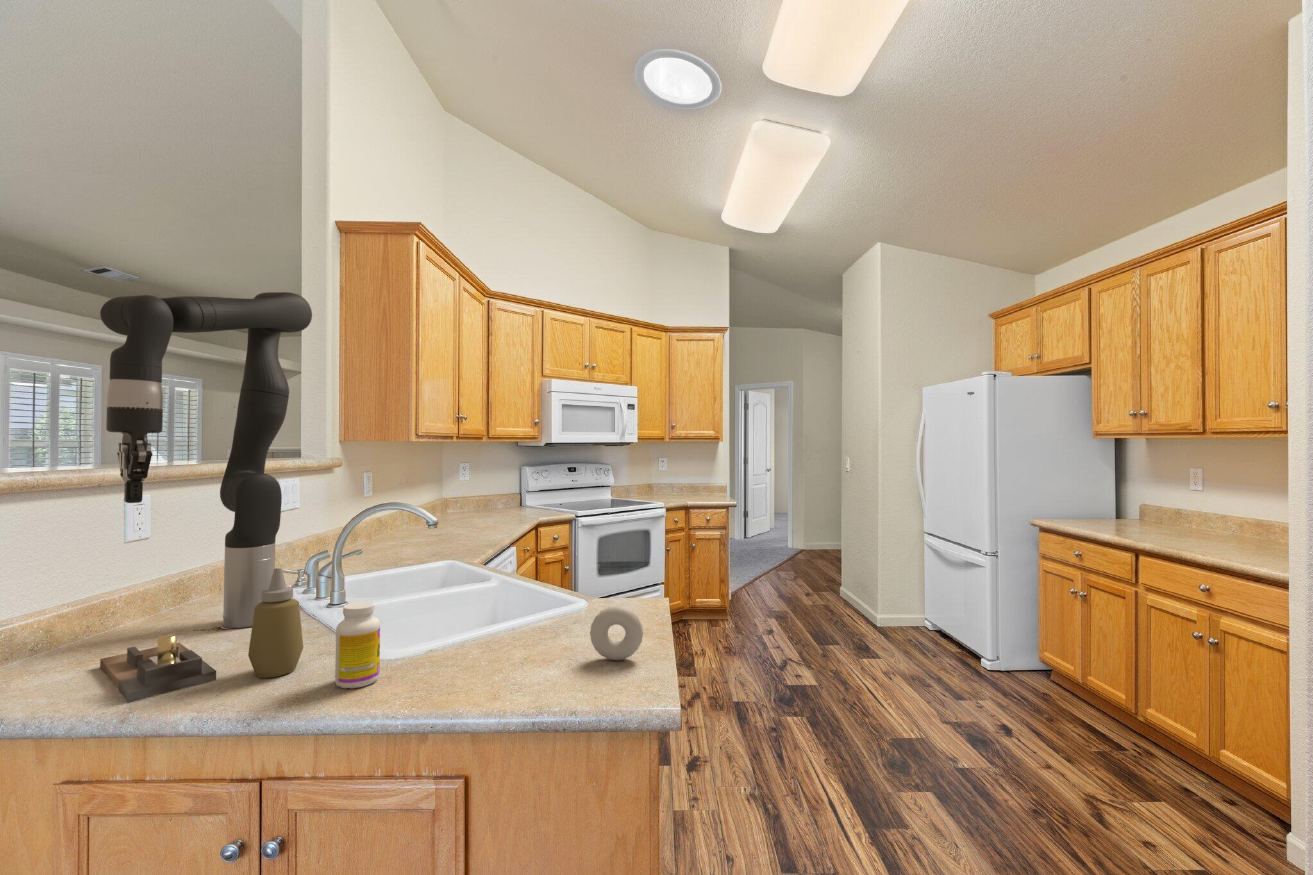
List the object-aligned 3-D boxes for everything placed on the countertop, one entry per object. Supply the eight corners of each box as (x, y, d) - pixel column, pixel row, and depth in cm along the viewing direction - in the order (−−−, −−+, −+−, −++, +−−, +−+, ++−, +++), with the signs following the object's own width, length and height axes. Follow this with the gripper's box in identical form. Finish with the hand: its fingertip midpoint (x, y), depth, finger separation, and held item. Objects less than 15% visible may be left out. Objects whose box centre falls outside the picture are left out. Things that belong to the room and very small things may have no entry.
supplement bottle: (384, 682, 96) (386, 605, 96) (340, 693, 92) (342, 613, 92) (372, 670, 101) (374, 597, 102) (330, 680, 97) (332, 604, 97)
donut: (643, 656, 110) (643, 604, 110) (642, 663, 106) (643, 609, 106) (590, 655, 110) (591, 603, 110) (588, 662, 106) (589, 608, 106)
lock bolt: (171, 664, 99) (172, 629, 99) (184, 676, 94) (185, 639, 94) (148, 669, 97) (149, 633, 97) (161, 681, 92) (162, 644, 92)
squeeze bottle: (243, 684, 95) (245, 575, 95) (251, 668, 102) (253, 566, 102) (301, 676, 99) (303, 571, 99) (304, 660, 106) (306, 562, 106)
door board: (179, 650, 110) (179, 628, 110) (216, 679, 97) (216, 654, 97) (100, 667, 101) (100, 643, 102) (128, 702, 88) (129, 674, 88)
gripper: (172, 406, 103) (169, 503, 102) (153, 408, 111) (151, 498, 110) (115, 403, 97) (112, 506, 96) (99, 406, 105) (97, 501, 105)
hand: (133, 502), depth 103 cm, fingers closed
